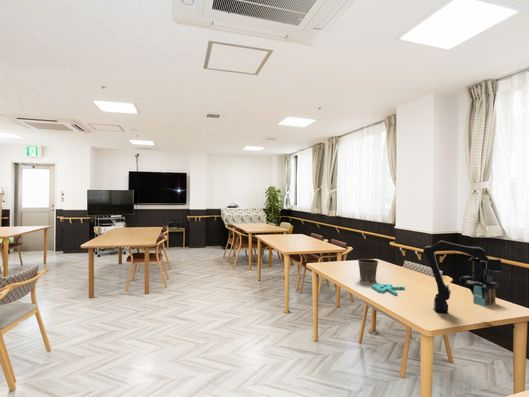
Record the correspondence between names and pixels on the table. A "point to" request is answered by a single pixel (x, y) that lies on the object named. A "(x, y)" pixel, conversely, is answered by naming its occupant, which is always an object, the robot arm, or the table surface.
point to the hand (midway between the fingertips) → (479, 297)
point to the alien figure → (386, 288)
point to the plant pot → (368, 269)
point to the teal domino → (478, 296)
